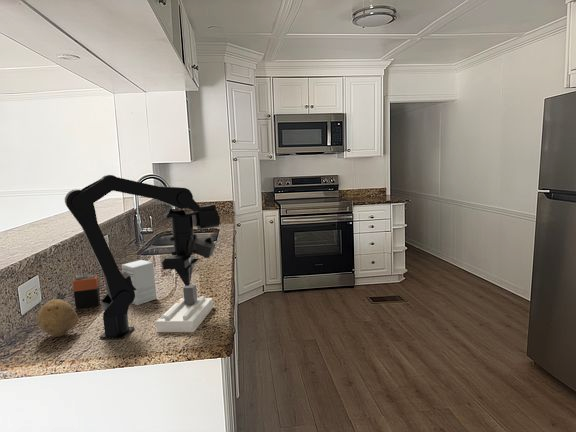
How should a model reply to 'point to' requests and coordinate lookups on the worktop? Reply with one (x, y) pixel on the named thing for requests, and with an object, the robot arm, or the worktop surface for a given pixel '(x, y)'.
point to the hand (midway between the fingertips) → (187, 285)
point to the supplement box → (141, 280)
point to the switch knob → (190, 294)
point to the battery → (86, 291)
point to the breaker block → (184, 316)
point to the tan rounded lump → (57, 317)
